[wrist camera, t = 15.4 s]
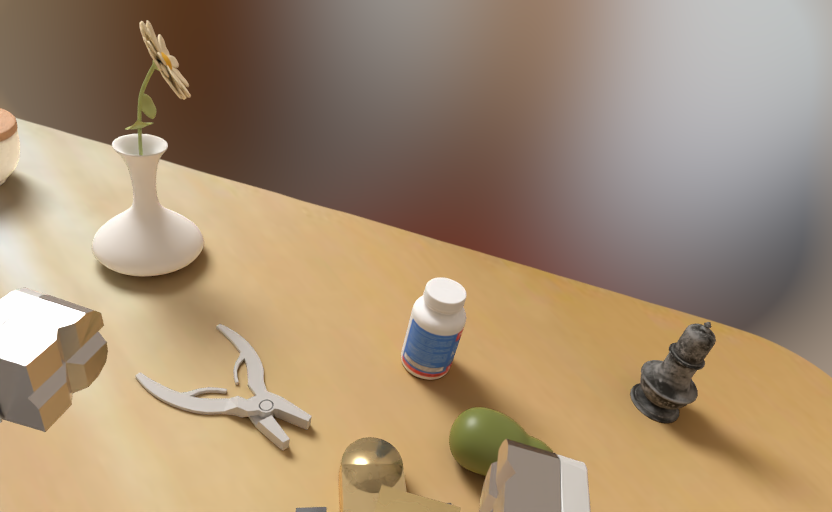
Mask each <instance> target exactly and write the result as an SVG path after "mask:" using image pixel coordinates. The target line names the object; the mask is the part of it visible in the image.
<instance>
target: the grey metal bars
mask: <svg viewBox="0 0 832 512" xmlns="http://www.w3.org/2000/svg"><path fill="white" fill-rule="evenodd" d="M447 504H450V505H451V503H447ZM296 512H326V507H313V508H296Z"/></svg>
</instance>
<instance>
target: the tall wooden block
mask: <svg viewBox="0 0 832 512" xmlns="http://www.w3.org/2000/svg"><path fill="white" fill-rule="evenodd" d="M460 509H461V507H457V506H454V505H450V504H447V503H443V502H440V501H436V500H433V499H429V498H426V497H422V496H419V495H415V494H412V493H408V492H405V491H401V490H398V489H394V488H391V487H387V486H384V485H381V489H380V492H379V496H378V500H377V504H376V508H375V511H374V512H460Z"/></svg>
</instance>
